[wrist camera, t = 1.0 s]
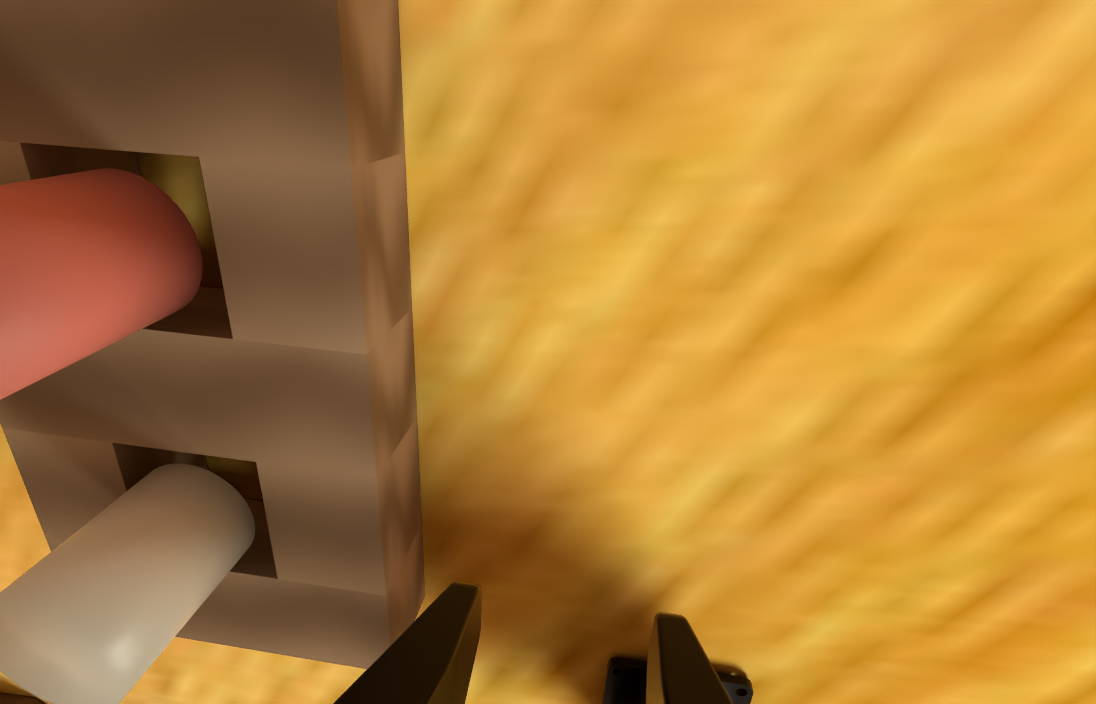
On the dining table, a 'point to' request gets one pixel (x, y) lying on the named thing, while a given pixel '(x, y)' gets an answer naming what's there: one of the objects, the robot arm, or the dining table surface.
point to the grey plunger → (122, 587)
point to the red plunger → (86, 268)
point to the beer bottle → (18, 699)
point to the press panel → (243, 298)
